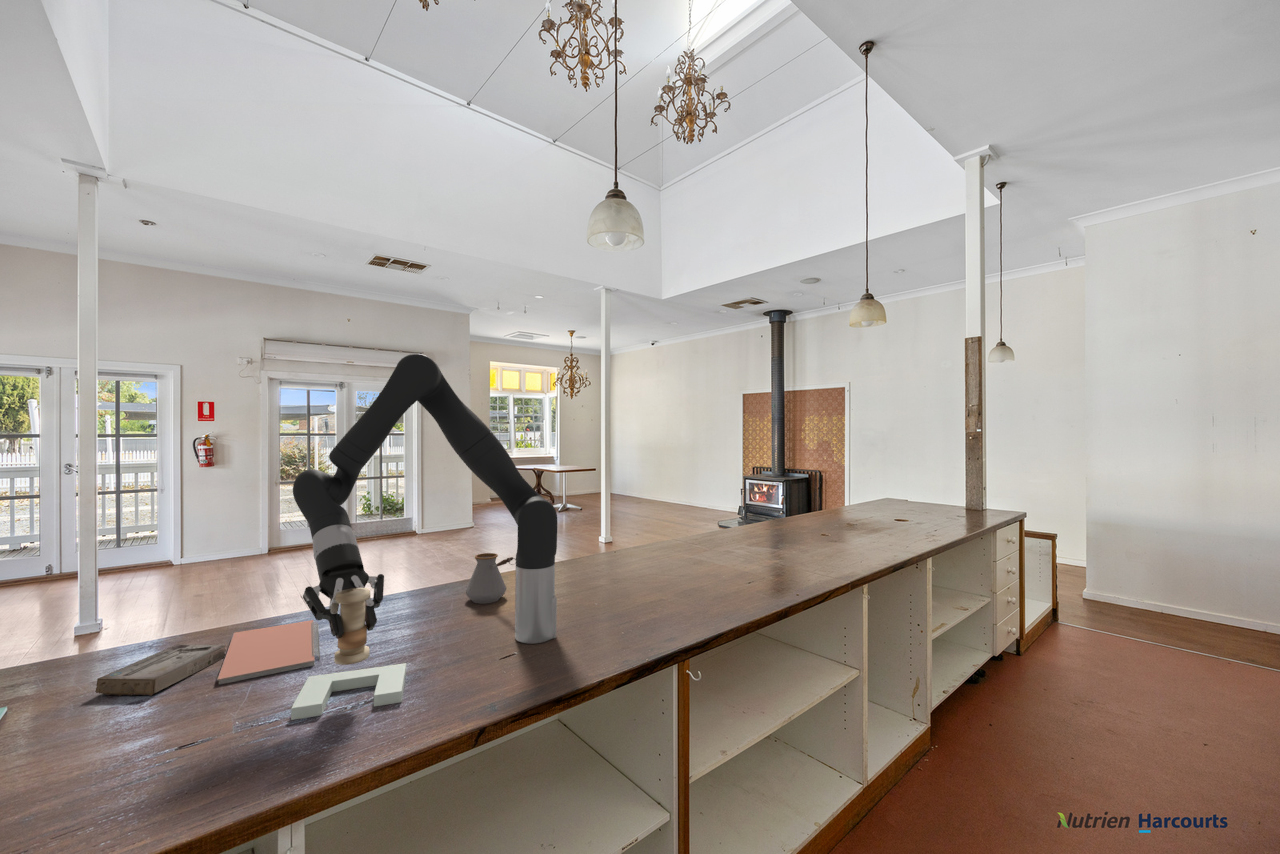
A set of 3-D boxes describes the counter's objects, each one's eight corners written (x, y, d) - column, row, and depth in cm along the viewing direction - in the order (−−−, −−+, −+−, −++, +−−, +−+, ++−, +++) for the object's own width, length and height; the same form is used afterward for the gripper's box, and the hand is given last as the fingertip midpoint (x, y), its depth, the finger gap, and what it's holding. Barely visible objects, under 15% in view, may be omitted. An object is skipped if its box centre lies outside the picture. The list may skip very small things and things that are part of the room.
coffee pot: (458, 599, 151) (459, 547, 151) (494, 591, 159) (495, 542, 159) (493, 618, 136) (493, 561, 136) (531, 608, 143) (531, 554, 144)
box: (93, 696, 94) (94, 678, 94) (175, 657, 111) (176, 642, 112) (153, 697, 95) (154, 679, 95) (226, 658, 112) (227, 643, 112)
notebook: (320, 667, 108) (320, 657, 108) (217, 688, 99) (217, 678, 99) (318, 626, 131) (318, 618, 131) (234, 640, 122) (234, 631, 122)
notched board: (406, 673, 104) (406, 663, 104) (401, 702, 93) (401, 691, 93) (308, 687, 98) (308, 676, 98) (291, 720, 87) (291, 708, 87)
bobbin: (371, 649, 98) (372, 586, 98) (367, 662, 93) (368, 595, 93) (337, 653, 96) (338, 589, 96) (331, 666, 91) (332, 598, 91)
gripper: (298, 547, 95) (315, 632, 86) (380, 537, 105) (403, 611, 97) (290, 571, 98) (306, 654, 90) (370, 558, 109) (391, 632, 100)
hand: (356, 631), depth 93 cm, fingers closed on bobbin, 4 cm apart
